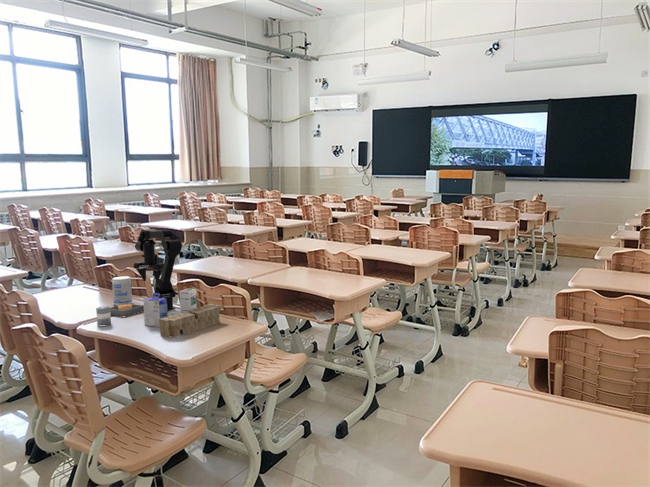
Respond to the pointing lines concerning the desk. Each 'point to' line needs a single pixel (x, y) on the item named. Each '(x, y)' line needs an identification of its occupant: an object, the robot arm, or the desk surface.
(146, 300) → the ink cartridge box
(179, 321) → the block tower
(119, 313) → the lid tray
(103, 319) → the cylinder
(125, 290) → the supplement tub
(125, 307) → the snap cap
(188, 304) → the syrup box
